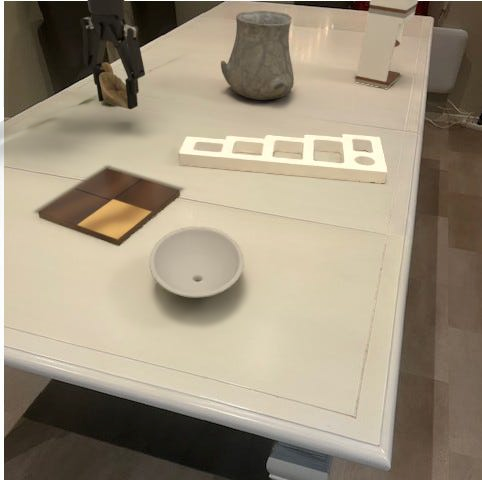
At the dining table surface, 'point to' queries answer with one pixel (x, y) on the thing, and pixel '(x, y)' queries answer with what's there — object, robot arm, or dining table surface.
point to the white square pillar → (382, 40)
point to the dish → (196, 261)
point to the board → (110, 205)
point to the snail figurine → (107, 70)
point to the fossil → (113, 89)
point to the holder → (350, 168)
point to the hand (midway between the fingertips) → (118, 103)
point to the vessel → (260, 56)
